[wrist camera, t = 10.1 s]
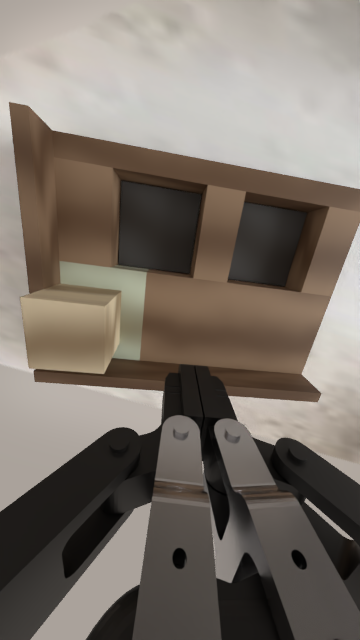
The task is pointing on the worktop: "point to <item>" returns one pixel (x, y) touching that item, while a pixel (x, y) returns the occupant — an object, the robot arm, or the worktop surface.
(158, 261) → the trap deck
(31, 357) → the maple block
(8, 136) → the worktop surface
